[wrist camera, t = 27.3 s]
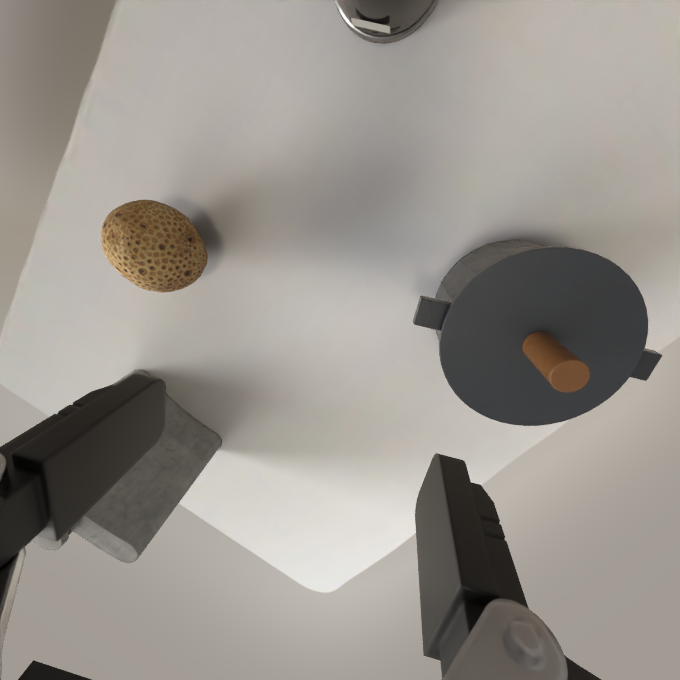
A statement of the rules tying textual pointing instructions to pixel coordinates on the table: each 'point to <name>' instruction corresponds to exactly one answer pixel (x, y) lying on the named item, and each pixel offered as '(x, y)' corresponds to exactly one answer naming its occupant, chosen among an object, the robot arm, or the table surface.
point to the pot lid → (543, 336)
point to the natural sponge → (153, 246)
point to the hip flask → (146, 488)
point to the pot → (472, 264)
